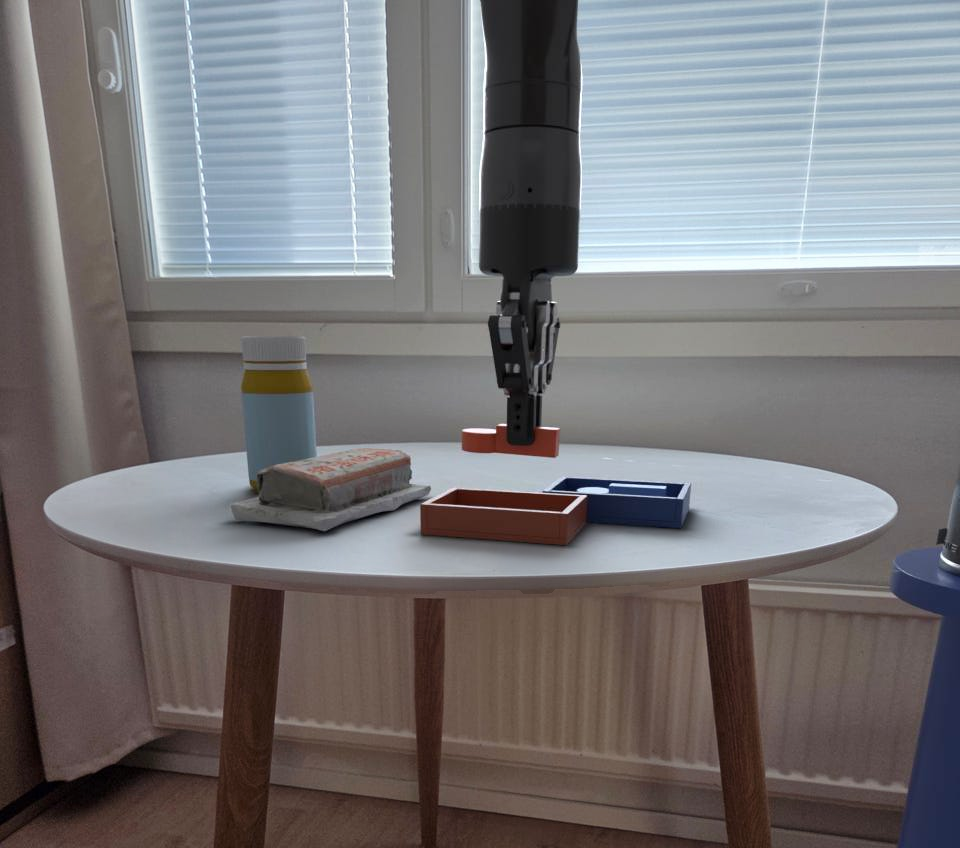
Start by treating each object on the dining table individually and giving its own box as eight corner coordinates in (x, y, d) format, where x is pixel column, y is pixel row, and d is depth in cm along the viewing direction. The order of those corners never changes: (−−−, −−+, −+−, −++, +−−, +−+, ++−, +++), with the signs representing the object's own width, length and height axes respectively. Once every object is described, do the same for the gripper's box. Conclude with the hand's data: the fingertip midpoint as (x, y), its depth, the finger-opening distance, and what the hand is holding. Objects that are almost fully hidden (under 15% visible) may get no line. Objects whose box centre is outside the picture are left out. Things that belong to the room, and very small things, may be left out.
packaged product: (345, 442, 89) (431, 448, 85) (347, 489, 90) (431, 498, 86) (224, 466, 74) (322, 475, 69) (229, 522, 75) (325, 534, 71)
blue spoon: (666, 508, 79) (668, 484, 79) (662, 515, 76) (664, 490, 76) (579, 503, 81) (580, 479, 81) (572, 509, 79) (573, 485, 78)
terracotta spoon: (560, 454, 71) (562, 426, 71) (552, 459, 69) (554, 431, 68) (468, 446, 74) (469, 419, 73) (456, 451, 71) (457, 423, 70)
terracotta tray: (586, 524, 75) (587, 495, 74) (566, 545, 68) (567, 513, 67) (452, 514, 79) (452, 487, 78) (420, 534, 71) (419, 504, 71)
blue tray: (688, 510, 81) (691, 483, 80) (681, 528, 74) (683, 499, 73) (560, 502, 85) (561, 476, 84) (541, 518, 77) (541, 490, 76)
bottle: (323, 483, 94) (315, 336, 89) (312, 495, 87) (302, 337, 82) (259, 483, 94) (246, 336, 89) (242, 494, 87) (228, 336, 82)
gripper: (559, 191, 57) (550, 457, 63) (596, 215, 70) (585, 436, 76) (452, 194, 59) (452, 452, 65) (505, 217, 72) (502, 432, 78)
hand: (523, 442), depth 70 cm, fingers closed on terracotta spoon, 1 cm apart
